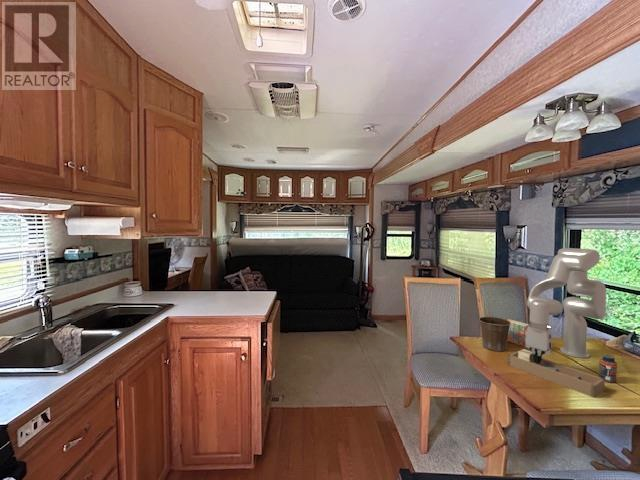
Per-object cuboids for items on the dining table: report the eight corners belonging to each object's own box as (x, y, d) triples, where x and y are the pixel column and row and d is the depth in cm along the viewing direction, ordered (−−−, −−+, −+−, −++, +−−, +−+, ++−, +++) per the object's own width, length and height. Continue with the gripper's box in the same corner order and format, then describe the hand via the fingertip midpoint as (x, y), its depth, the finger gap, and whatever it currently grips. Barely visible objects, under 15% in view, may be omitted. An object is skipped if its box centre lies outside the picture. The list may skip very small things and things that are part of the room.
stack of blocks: (546, 350, 173) (547, 329, 172) (540, 352, 170) (541, 331, 169) (508, 337, 192) (509, 318, 191) (502, 339, 189) (503, 320, 188)
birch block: (523, 358, 155) (523, 349, 155) (533, 362, 151) (534, 352, 151) (518, 360, 153) (518, 351, 153) (529, 364, 149) (529, 354, 148)
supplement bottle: (612, 384, 136) (613, 360, 135) (595, 378, 141) (596, 354, 140) (619, 381, 138) (620, 357, 137) (602, 375, 143) (603, 352, 143)
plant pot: (472, 342, 184) (472, 316, 183) (496, 341, 186) (497, 315, 185) (490, 354, 168) (490, 325, 167) (516, 352, 170) (517, 324, 169)
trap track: (519, 359, 161) (519, 350, 160) (604, 390, 131) (604, 379, 131) (507, 364, 155) (508, 355, 155) (594, 397, 125) (594, 386, 125)
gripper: (560, 328, 143) (558, 366, 143) (525, 320, 155) (524, 355, 156) (553, 331, 139) (551, 370, 140) (518, 322, 151) (516, 358, 152)
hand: (537, 362), depth 148 cm, fingers closed
